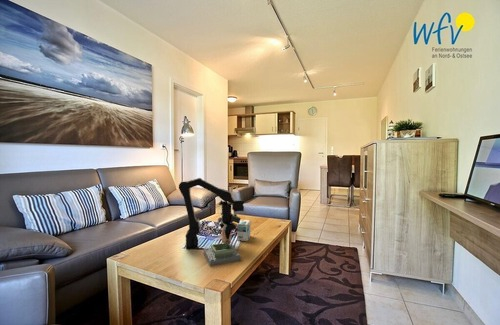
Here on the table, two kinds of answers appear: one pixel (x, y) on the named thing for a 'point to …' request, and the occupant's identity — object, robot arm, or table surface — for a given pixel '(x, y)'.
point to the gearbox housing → (221, 254)
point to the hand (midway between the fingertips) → (226, 237)
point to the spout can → (224, 239)
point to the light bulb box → (243, 230)
